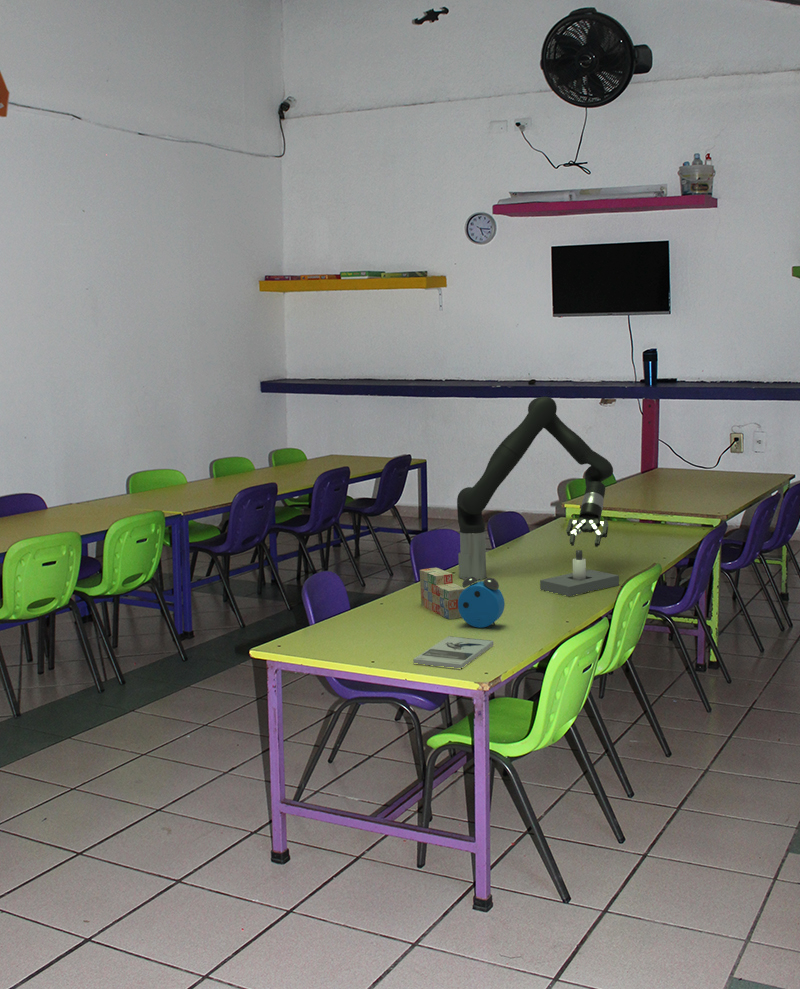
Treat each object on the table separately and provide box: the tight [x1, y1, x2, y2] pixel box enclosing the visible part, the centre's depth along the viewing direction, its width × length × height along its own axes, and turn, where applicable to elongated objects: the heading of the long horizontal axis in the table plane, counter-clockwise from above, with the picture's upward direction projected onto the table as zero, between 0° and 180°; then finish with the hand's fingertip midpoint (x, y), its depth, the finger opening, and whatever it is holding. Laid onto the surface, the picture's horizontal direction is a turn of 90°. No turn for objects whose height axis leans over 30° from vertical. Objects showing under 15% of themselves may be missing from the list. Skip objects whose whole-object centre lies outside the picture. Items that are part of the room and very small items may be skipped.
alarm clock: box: [458, 577, 505, 629], centre depth 297 cm, size 13×6×15 cm, turn 65°
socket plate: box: [539, 568, 620, 597], centre depth 341 cm, size 24×14×4 cm, turn 125°
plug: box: [572, 549, 587, 581], centre depth 341 cm, size 4×4×13 cm
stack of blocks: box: [419, 567, 466, 620], centre depth 317 cm, size 21×6×12 cm, turn 23°
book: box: [413, 635, 494, 668], centre depth 271 cm, size 23×14×2 cm, turn 153°
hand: (584, 545), depth 346 cm, fingers open, 8 cm apart
